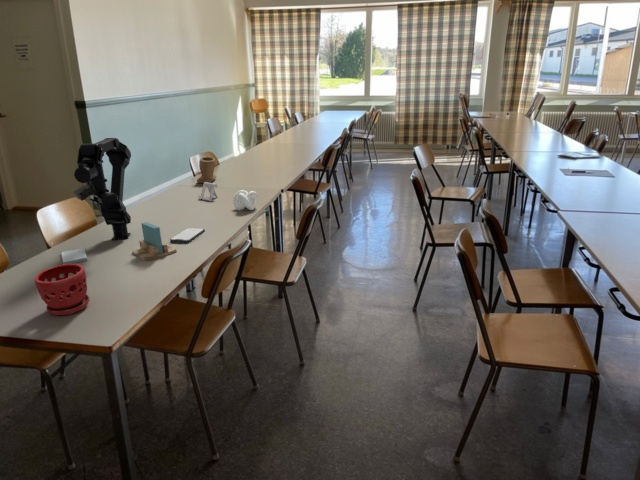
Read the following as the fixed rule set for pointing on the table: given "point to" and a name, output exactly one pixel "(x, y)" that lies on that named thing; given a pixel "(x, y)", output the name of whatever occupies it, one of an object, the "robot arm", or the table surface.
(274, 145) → the table surface
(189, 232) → the smartphone
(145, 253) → the stand
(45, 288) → the plant pot
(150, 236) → the panel
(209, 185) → the portable electronic device stand
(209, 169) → the stone cup
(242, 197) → the white knot sculpture
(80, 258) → the hard drive
